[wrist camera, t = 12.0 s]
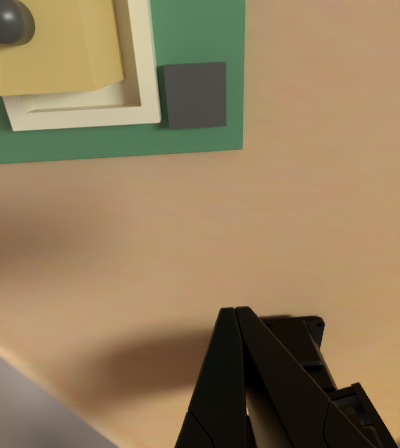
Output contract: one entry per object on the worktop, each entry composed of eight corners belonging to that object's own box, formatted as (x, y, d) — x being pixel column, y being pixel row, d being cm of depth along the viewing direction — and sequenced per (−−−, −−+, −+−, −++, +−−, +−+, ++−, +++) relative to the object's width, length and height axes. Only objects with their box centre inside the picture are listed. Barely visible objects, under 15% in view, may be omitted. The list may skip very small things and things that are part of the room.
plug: (125, 78, 15) (85, 94, 9) (45, 83, 15) (-52, 102, 9) (107, -46, 13) (36, -138, 7) (12, -41, 13) (-147, -131, 7)
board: (239, 144, 19) (248, 159, 16) (-28, 159, 18) (-66, 178, 16) (242, -142, 13) (259, -197, 10) (-146, -126, 13) (-239, -178, 10)
